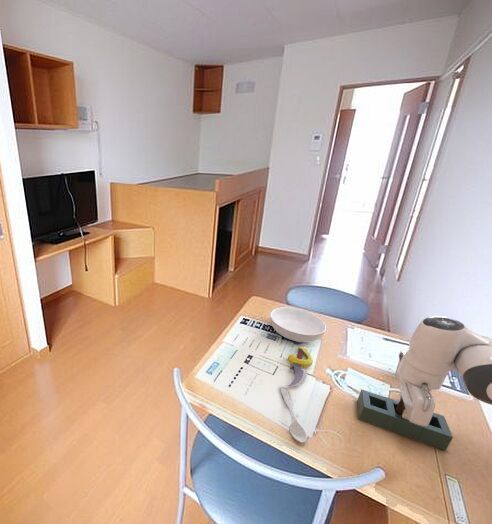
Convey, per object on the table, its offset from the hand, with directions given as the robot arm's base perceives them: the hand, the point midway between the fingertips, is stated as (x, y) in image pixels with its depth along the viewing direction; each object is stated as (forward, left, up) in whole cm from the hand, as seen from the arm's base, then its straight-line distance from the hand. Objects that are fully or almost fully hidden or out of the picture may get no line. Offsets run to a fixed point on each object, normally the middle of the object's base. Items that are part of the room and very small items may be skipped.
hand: (403, 411), depth 86 cm
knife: (+27, -10, -5) cm, 29 cm away
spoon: (+27, +12, -5) cm, 30 cm away
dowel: (0, 0, -4) cm, 4 cm away
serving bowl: (+30, -33, -5) cm, 45 cm away
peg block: (0, 0, -5) cm, 5 cm away
